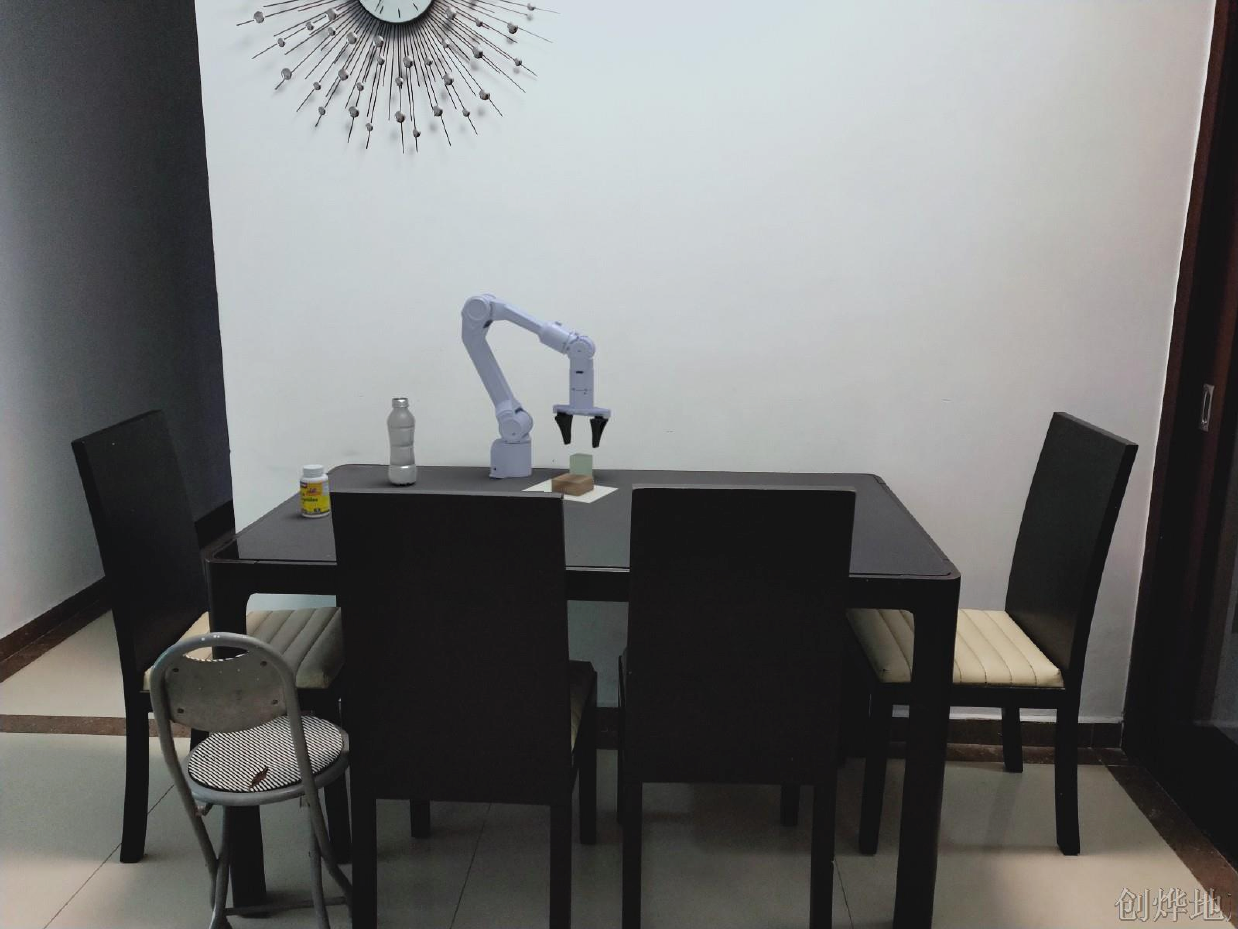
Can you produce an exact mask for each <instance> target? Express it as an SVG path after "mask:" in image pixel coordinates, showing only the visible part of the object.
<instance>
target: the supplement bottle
mask: <svg viewBox="0 0 1238 929" xmlns="http://www.w3.org/2000/svg"><path fill="white" fill-rule="evenodd" d="M324 470H325V469H324V465H321V464H318V463H317V464H307V465H304V466H303V467H302V475H301V476H300V477H299V491H300V492H299V493H300V509H301V515H302V516H303V517H305V518H309V519H312V518H322V517H323V518H324V517H326V516H328V515H329V514H330V512H331V506H330V489H329V488H330V487H329V486H330V485H329V477H328V475H327V474H325V472H324Z"/></svg>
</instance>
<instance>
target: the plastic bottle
mask: <svg viewBox="0 0 1238 929" xmlns="http://www.w3.org/2000/svg"><path fill="white" fill-rule="evenodd" d="M391 407H392V408H393V409H392V410H391V412H390V413H389V415H388V417H387V420H386V427H387V433H388V438H389V449H390V452H389V454H390V455H389V465H388V473H387V474H388V477H389V481H390V482H391V483H392V484H393V483H395V485H400V484H405V485H408V484H407V483H409V484H413V483H414V482H415V481H416V480H417V477H418V476H417V475H418V470H417V464H416V459H415V451H414V449H415V447H414V444H415V443H414V442H415V441H414V440H415V429H416V419H415V416H414V415H413V413H412V411H410V410H409V408H408V407H410V404H409V398H408V397H393V398H391Z"/></svg>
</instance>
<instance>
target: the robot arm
mask: <svg viewBox="0 0 1238 929" xmlns="http://www.w3.org/2000/svg"><path fill="white" fill-rule="evenodd" d="M460 314H461V315H460V316H461V341H462V342H461V343H463V345H464V347H465V349H466V351H467V353H468V355H469V357H470V359H471V361H472V364H473V365H474V368H475V370H476V371H477V373H478V376H479V378H480V380H481V381H482V382H481V383H482V384H483V386H484V388H485V390H486V391H487V394H488V395H489V396H488V397H490V399H491V401H492V404H493V406H494V409H495V418H496V420H497V424H498V433H499V435H500V438H496V439H494V441H493V442H492V443H491V447H490V474H489V475H488V476H489V478H496V479H497V478H498V479H506V478H508V477H509V478H511V477H512V478H523V477H524V478H525V477H528V476H530V475H532V471H533V469H532V465H533V464H532V463H533V462H532V437H531V436H530V432H531V431H532V429H533V426H534V419H533V417H532V416H531V414H530V413H529V412H528V411H526V409H524V407H523V405H522V404H521V402H520V401H519V400H518V399H517V398H516V397H515V396H514V393H513V391H512V390H511V388H510V385H509V383H508V381H507V379H506V377H505V376H504V373H503V371H502V369H501V367H500V365H499V362H498V361H497V360H496V358H495V357H496V356H495V354H494V353H493V352H492V348H491V346H490V345H489V343H488V341H487V339H486V337H487V336H488V332H489V330H490V327H491V325H492V324H493V323H494V322H495V321H496V322H497V321H506V322H507V321H508V322H510V323H512V324H515V326H516V325H517V326H518V327H520V328H522V329H525V330H527V331H528V332H531V333H533V334H536V335H537V337H538V339H539V341H540V343H541V344H543V345H545V346H547V347H548V348H551V349H553V350H554V351H557V352H558V353H560V354H562V355H566V356H567V358H568V359H569V373H568V375H569V376H568V377H569V378H568V379H569V382H568V383H569V385H568V386H569V387H568V388H569V390H568V391H569V393H568V395H569V397H568V398H569V399H568V401H569V403H568V404H553V405H552V414H556V415H554V421H555V422H556V424H557V426H558V429H559V430H560V433H561V437H562V440H563V444H564V445H565V446H567V445H570V444H571V443H572V425H573V419H574V416H580V417H581V416H582V417H583V416H584V417H592V418H590V419H589V423H590V429H591V446H592V447H591V448H593V449H597V448H599V447H600V441H601V438H602V435H603V433H604V430H605V428H606V426H607V425H608V423H609V420H610V418H611V416H612V414H611V413H612V409H610V408H602V407H599V406H594V405H595V404H594V399H595V398H594V397H595V395H594V392H595V390H594V389H595V380H594V379H595V371H594V370H595V369H594V358H593V357H594V355H595V353H596V348H597V347H596V344H595V342H594V341H593V340H592V339H591V338H589V336H588V335H580V334H581V333H580V332H579V331H578V330H576V331H573V330H571V329H569V328H567V327H565V326H563V322H561V321H560V320H555V321H553V320H548V321H546V322H543V320H540V319H539V318H537V317H535V316H534V315H531V314H530V313H528V312H526V311H525V310H523V309H521V308H519V307H518V306H516V305H514V304H512V303H510V302H509V301H506V300H504V299H503V298H501V297H496V296H494V295H492V294H491V293H485V294H481V295H474V296H471V297H469V298H468V299H467V300H466V301H465V303H464V306H463V307H462V309H461V312H460Z"/></svg>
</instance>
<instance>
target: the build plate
mask: <svg viewBox="0 0 1238 929" xmlns="http://www.w3.org/2000/svg"><path fill="white" fill-rule="evenodd" d="M551 479H552V478H550V479H548V480H545V481H542V482H540V483H538V484H534V485H533V486H530V487H527V488H525V489H523V490H522V491H544V492H551ZM617 490H619V487H617V488H616V487H609V486H603V485H596V484H594V490H592V491H590V492H587V493H585V494H583V495H581V496H572V495H565V494H564V499H563V500H566V501H567V500H568V501H573V502H580V503H581V502H582V503H587V504H590V503H592V502H595V501H596V500H599V499H601V498H602V497H605V496H607V495H609V494H610V493H613V492H614V491H617Z"/></svg>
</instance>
